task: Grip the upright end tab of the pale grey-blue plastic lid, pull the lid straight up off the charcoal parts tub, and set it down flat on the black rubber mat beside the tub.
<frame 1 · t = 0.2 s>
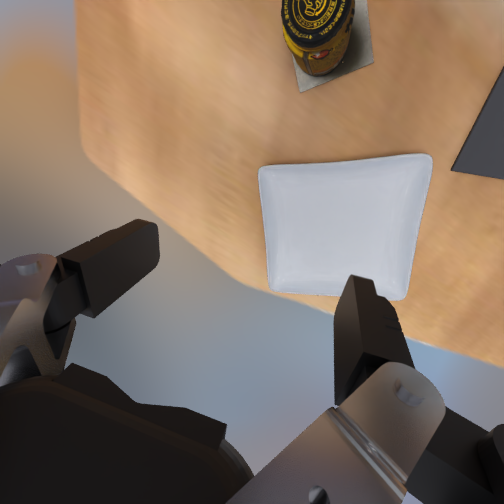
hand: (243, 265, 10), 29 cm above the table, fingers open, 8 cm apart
salad plate: (334, 228, 38), on the table
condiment: (328, 43, 28), on the table
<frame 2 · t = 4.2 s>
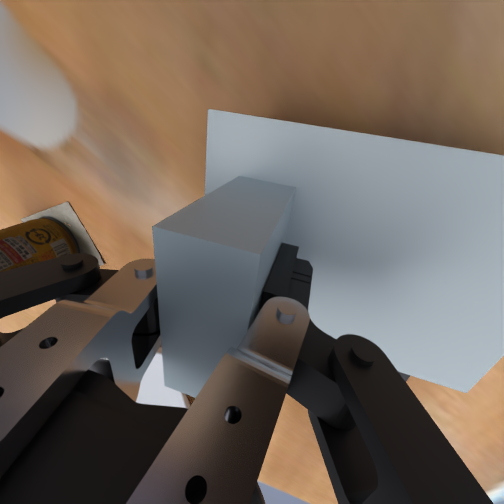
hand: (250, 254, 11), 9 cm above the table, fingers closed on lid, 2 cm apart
lid: (351, 257, 12), point 7 cm above the table, touching gripper, tub
salad plate: (139, 375, 38), on the table
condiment: (65, 239, 28), on the table
when the fingers open (5 cm above the table, at t = 11.9 s): lid stays where it is, resting on mat.
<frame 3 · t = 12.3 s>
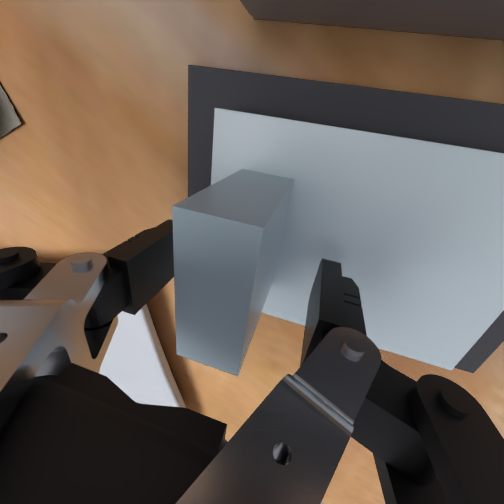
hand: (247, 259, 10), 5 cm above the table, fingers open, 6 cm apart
mat: (348, 235, 14), on the table
lid: (345, 245, 13), point 2 cm above the table, touching mat
salad plate: (102, 332, 27), on the table
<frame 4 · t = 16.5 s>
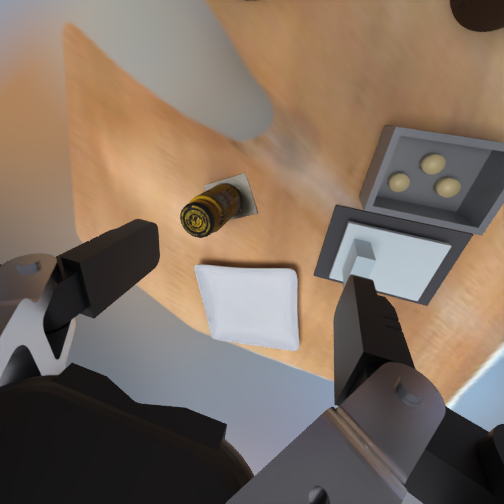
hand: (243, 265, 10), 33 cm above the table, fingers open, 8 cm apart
tub: (422, 172, 35), on the table
mat: (382, 256, 42), on the table
lid: (383, 260, 40), point 2 cm above the table, touching mat
salad plate: (252, 299, 55), on the table
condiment: (231, 198, 45), on the table
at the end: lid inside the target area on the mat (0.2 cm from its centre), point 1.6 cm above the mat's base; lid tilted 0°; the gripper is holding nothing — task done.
